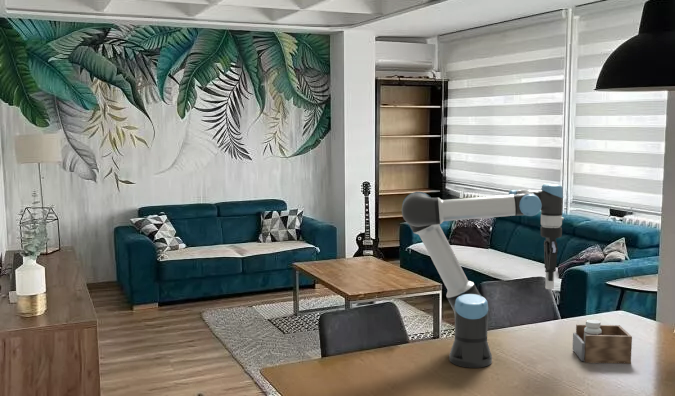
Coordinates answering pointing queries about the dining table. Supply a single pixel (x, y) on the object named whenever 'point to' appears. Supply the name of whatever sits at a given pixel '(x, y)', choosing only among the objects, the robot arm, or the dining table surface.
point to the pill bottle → (592, 328)
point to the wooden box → (607, 345)
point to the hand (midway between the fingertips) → (549, 288)
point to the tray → (578, 346)
